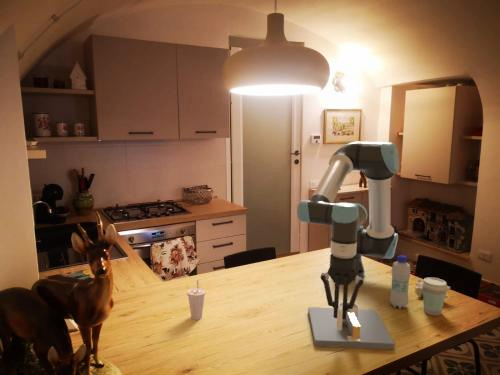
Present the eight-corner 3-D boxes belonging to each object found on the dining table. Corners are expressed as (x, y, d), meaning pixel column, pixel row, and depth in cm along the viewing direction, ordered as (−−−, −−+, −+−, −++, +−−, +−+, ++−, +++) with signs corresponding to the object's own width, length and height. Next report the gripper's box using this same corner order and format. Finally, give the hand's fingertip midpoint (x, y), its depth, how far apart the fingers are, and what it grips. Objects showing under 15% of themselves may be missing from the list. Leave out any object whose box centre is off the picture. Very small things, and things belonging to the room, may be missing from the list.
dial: (337, 318, 128) (337, 301, 127) (354, 319, 128) (355, 302, 127) (345, 342, 113) (346, 324, 112) (365, 343, 113) (367, 325, 112)
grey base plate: (308, 312, 137) (308, 306, 136) (374, 314, 135) (375, 308, 135) (315, 346, 115) (315, 339, 115) (394, 349, 114) (394, 342, 113)
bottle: (409, 310, 139) (413, 259, 136) (390, 308, 140) (394, 257, 137) (405, 302, 145) (409, 253, 142) (387, 301, 146) (391, 252, 144)
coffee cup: (450, 316, 135) (453, 285, 133) (429, 318, 133) (431, 286, 131) (435, 305, 143) (437, 276, 141) (414, 307, 141) (417, 277, 140)
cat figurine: (418, 277, 155) (448, 277, 147) (423, 292, 157) (454, 292, 148) (411, 288, 150) (443, 289, 141) (417, 303, 151) (449, 305, 142)
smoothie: (200, 323, 128) (200, 284, 126) (184, 319, 130) (183, 281, 128) (208, 314, 134) (208, 277, 132) (193, 311, 136) (192, 275, 134)
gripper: (319, 256, 111) (316, 330, 114) (365, 261, 107) (361, 337, 110) (322, 248, 118) (319, 318, 121) (365, 253, 114) (361, 325, 117)
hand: (339, 327), depth 116 cm, fingers closed
